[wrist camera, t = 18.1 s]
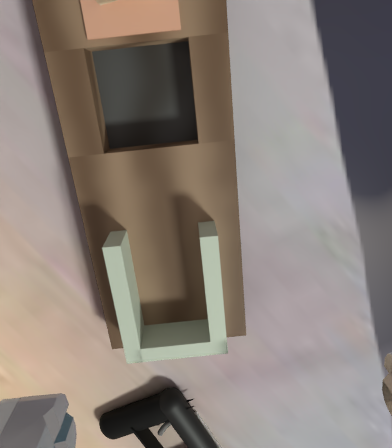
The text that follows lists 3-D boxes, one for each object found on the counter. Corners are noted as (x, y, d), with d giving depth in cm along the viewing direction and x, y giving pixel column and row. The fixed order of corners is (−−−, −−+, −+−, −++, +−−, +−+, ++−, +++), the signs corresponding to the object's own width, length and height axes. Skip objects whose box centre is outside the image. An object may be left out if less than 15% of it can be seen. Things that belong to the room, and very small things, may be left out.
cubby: (132, 339, 36) (126, 363, 33) (110, 231, 32) (101, 247, 29) (223, 329, 36) (227, 353, 33) (214, 220, 32) (217, 235, 29)
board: (117, 330, 39) (112, 349, 37) (31, -61, 27) (14, -79, 24) (241, 317, 39) (246, 335, 37) (216, -81, 27) (220, -101, 24)
